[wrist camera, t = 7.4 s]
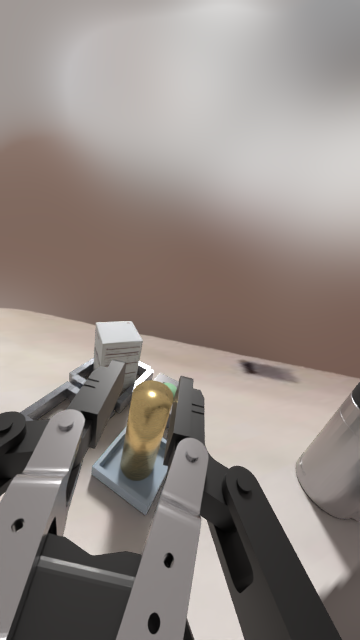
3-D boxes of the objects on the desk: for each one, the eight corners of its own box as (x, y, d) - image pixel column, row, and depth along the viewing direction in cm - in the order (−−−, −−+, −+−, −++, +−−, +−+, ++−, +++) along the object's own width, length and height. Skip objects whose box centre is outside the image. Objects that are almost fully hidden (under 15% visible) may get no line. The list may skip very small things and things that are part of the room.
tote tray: (176, 455, 35) (179, 447, 34) (145, 515, 28) (148, 507, 27) (131, 426, 38) (132, 418, 37) (91, 474, 30) (92, 466, 29)
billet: (160, 457, 34) (180, 392, 28) (142, 488, 30) (160, 420, 24) (133, 440, 35) (147, 374, 29) (113, 467, 31) (123, 398, 25)
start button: (176, 398, 44) (180, 388, 43) (169, 410, 41) (172, 399, 40) (162, 391, 45) (165, 380, 44) (153, 401, 42) (156, 390, 41)
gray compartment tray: (153, 377, 50) (155, 369, 49) (67, 468, 30) (66, 458, 29) (110, 354, 53) (111, 346, 52) (8, 423, 34) (6, 412, 33)
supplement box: (92, 371, 47) (95, 321, 42) (126, 367, 51) (133, 320, 45) (97, 397, 42) (101, 343, 36) (135, 390, 45) (144, 340, 40)
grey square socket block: (189, 402, 46) (193, 389, 44) (172, 430, 39) (176, 417, 37) (157, 384, 48) (160, 372, 47) (135, 408, 41) (138, 395, 40)
